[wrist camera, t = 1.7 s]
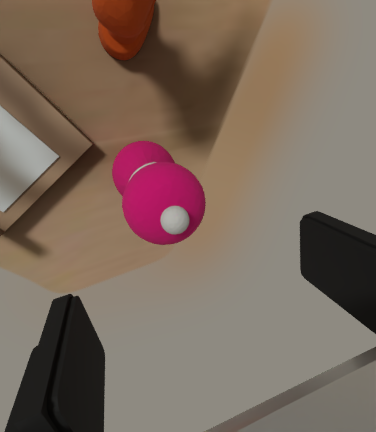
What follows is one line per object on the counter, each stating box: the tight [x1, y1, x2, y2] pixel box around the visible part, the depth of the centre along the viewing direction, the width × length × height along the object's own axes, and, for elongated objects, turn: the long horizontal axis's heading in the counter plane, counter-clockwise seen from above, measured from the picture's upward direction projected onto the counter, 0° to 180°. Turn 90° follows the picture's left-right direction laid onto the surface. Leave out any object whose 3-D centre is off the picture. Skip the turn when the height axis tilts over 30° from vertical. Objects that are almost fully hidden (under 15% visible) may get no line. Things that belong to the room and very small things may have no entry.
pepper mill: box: [112, 141, 205, 245], centre depth 23 cm, size 7×7×20 cm
